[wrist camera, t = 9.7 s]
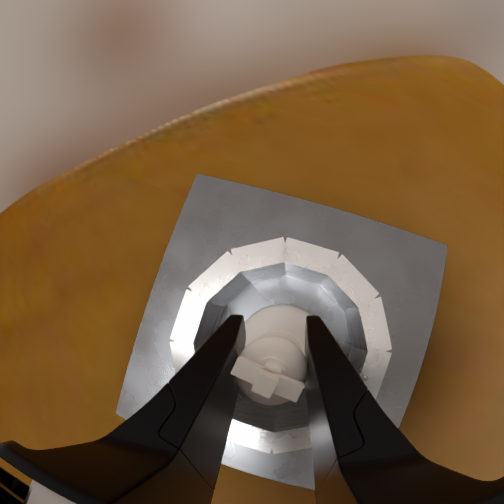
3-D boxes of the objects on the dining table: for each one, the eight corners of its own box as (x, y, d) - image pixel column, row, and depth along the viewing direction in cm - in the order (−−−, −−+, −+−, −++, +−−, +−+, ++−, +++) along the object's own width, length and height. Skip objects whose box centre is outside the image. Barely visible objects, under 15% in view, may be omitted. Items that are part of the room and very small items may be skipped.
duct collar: (360, 490, 15) (375, 528, 10) (122, 410, 18) (82, 426, 13) (441, 249, 18) (477, 227, 13) (200, 179, 21) (178, 143, 17)
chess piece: (258, 290, 16) (210, 237, 7) (341, 325, 15) (412, 321, 6) (221, 370, 16) (129, 420, 6) (303, 406, 15) (315, 506, 5)
